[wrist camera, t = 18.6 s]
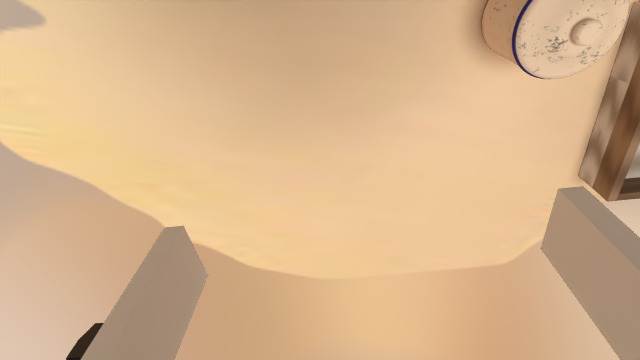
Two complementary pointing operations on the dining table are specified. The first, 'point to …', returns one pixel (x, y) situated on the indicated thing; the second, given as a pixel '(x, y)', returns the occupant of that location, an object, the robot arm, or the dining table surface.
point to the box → (618, 125)
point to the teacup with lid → (553, 33)
